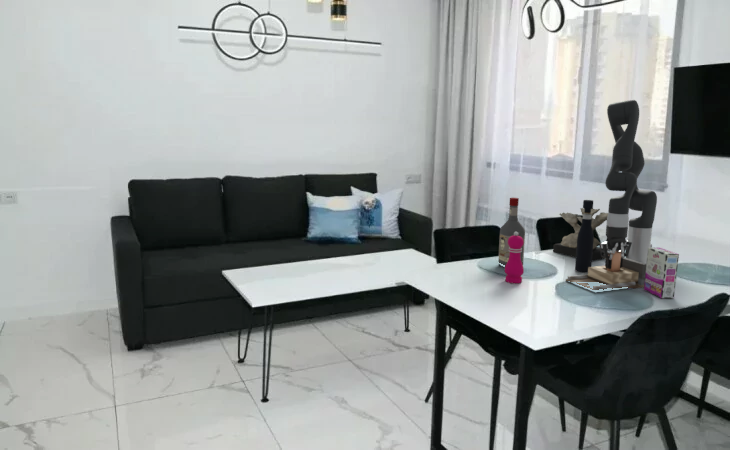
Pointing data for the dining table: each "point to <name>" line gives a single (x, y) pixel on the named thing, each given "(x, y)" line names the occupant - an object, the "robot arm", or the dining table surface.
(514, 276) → the pepper mill
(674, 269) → the candy bar box
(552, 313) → the dining table surface
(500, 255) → the liquor
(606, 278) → the socket block
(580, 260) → the wine bottle
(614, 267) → the dowel
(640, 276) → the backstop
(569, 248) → the coral
